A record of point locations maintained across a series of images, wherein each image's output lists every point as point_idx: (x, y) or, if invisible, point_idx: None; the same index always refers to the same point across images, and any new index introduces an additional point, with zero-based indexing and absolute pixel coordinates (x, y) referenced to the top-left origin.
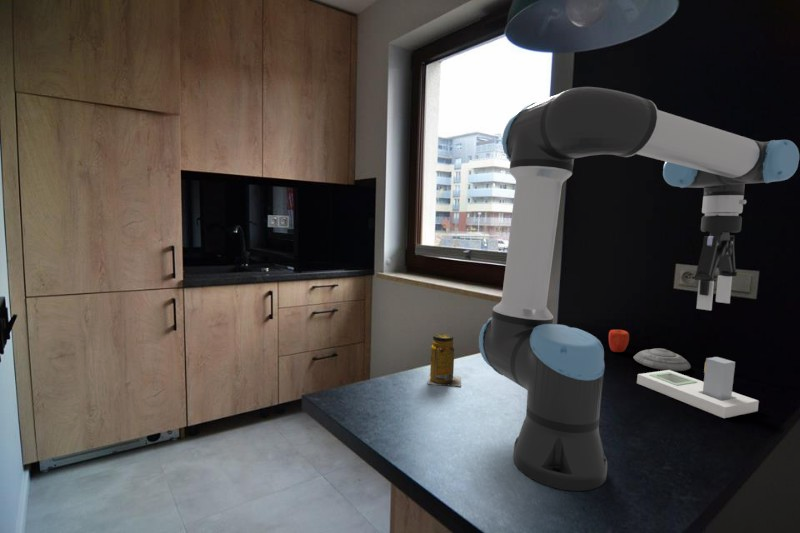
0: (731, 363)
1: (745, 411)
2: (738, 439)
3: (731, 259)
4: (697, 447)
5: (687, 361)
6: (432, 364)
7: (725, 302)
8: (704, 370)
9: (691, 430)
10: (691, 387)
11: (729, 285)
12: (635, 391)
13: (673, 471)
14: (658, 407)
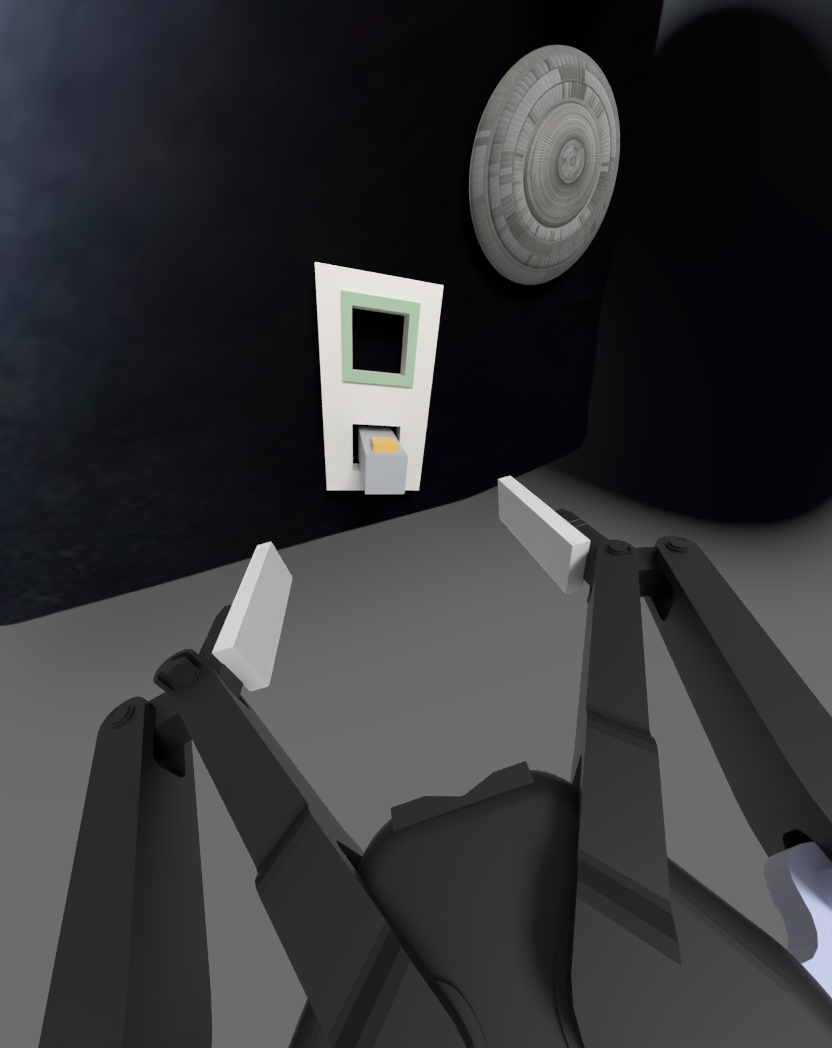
0: (391, 493)
1: None
2: (273, 530)
3: (683, 668)
4: (177, 530)
5: (573, 257)
6: None
7: (500, 510)
8: (371, 438)
9: (220, 493)
10: (366, 402)
11: (539, 559)
12: (259, 311)
13: (72, 562)
14: (239, 406)
